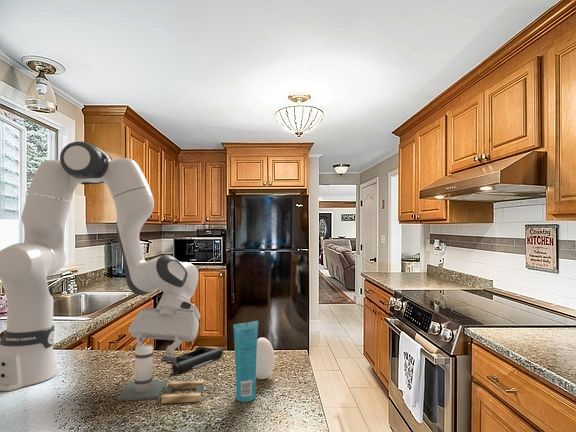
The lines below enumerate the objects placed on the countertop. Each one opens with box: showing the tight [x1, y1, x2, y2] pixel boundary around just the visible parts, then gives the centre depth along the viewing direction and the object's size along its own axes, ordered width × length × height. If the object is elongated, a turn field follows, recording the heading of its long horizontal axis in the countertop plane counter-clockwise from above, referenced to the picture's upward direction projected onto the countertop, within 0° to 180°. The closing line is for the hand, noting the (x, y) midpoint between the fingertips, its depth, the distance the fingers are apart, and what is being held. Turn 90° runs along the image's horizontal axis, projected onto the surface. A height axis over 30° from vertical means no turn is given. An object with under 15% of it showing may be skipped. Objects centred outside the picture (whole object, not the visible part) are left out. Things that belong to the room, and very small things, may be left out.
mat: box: [116, 380, 167, 402], centre depth 98 cm, size 10×10×1 cm
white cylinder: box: [133, 344, 154, 392], centre depth 98 cm, size 5×5×11 cm
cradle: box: [160, 379, 205, 404], centre depth 97 cm, size 9×9×2 cm
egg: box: [256, 337, 276, 380], centre depth 107 cm, size 7×7×12 cm
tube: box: [233, 320, 259, 403], centre depth 95 cm, size 7×5×19 cm, turn 133°
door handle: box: [161, 345, 224, 374], centre depth 122 cm, size 3×20×16 cm
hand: (153, 352), depth 103 cm, fingers open, 8 cm apart
